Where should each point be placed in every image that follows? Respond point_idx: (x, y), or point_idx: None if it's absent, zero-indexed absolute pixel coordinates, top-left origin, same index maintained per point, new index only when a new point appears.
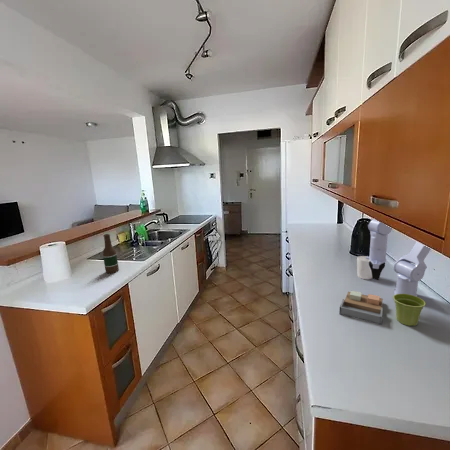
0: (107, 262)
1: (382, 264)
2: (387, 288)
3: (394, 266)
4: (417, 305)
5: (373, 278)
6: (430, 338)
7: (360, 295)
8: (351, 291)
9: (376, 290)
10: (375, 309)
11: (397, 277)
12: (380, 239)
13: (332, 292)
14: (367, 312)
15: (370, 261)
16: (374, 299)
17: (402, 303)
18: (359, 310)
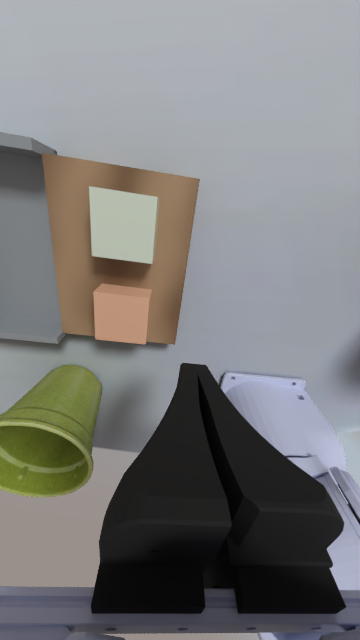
0: None
1: (205, 584)
2: (316, 358)
3: (356, 512)
4: (79, 454)
5: (180, 370)
6: None
7: (108, 255)
8: (142, 198)
9: (291, 321)
10: (62, 312)
11: (285, 453)
12: None
13: (214, 59)
14: (48, 277)
15: (307, 520)
16: (96, 321)
17: (88, 415)
18: (46, 244)
